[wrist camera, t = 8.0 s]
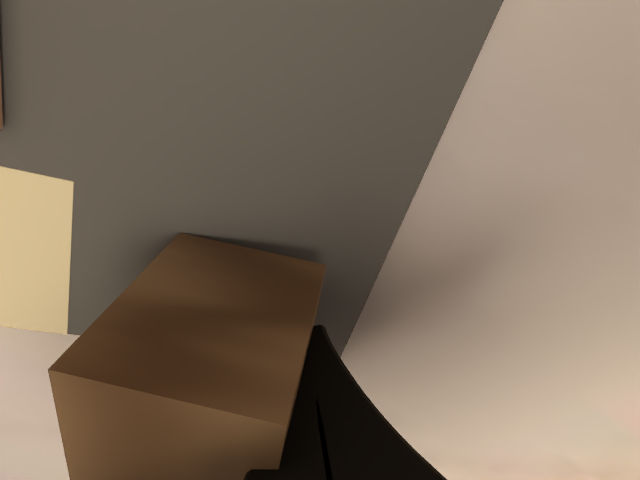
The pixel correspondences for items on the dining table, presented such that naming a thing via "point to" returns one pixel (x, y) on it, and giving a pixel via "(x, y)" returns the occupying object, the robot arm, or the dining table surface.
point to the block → (189, 367)
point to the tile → (0, 116)
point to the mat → (216, 138)
